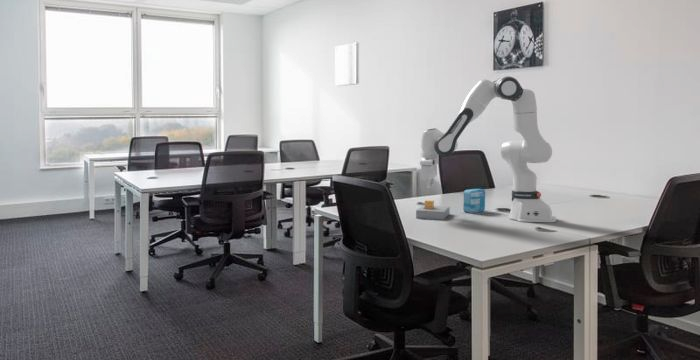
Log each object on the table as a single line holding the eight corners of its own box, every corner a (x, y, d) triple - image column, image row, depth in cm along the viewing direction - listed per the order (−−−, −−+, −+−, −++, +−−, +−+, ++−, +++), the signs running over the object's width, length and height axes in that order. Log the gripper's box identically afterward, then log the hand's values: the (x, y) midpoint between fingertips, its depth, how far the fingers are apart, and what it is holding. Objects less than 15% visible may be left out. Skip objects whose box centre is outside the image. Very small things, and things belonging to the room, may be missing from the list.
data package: (469, 213, 278) (469, 191, 276) (463, 212, 281) (463, 190, 280) (484, 211, 284) (485, 189, 283) (478, 210, 288) (479, 188, 287)
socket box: (449, 214, 276) (449, 206, 275) (443, 219, 261) (443, 211, 260) (423, 212, 281) (423, 205, 280) (416, 218, 266) (416, 210, 265)
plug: (433, 215, 273) (434, 200, 272) (432, 216, 269) (432, 201, 268) (426, 214, 274) (426, 199, 273) (424, 216, 271) (424, 200, 270)
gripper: (428, 158, 279) (428, 184, 281) (419, 161, 260) (418, 189, 262) (440, 158, 277) (439, 184, 278) (431, 162, 258) (431, 190, 260)
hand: (429, 187), depth 270 cm, fingers open, 7 cm apart
